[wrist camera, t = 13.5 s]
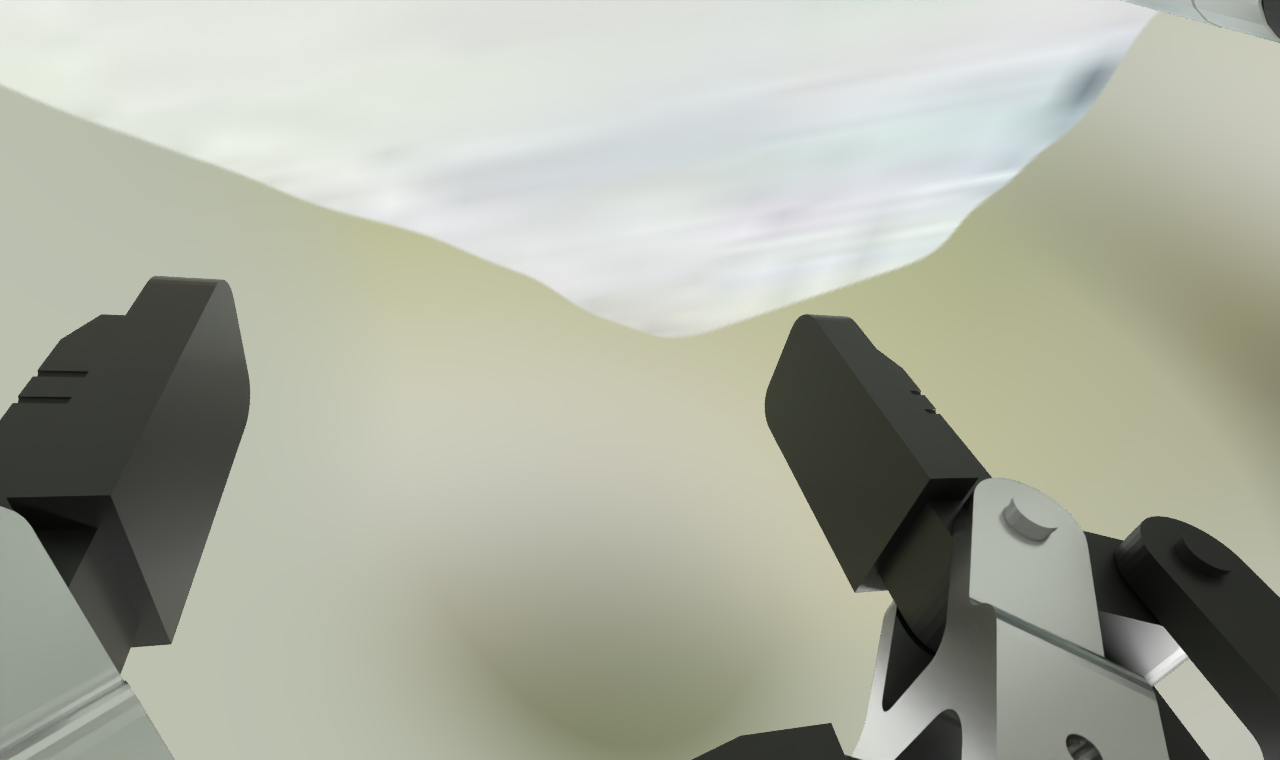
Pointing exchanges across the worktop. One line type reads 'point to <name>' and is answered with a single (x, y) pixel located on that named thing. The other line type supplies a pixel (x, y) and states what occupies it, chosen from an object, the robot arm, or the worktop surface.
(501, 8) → the worktop surface
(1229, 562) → the robot arm
